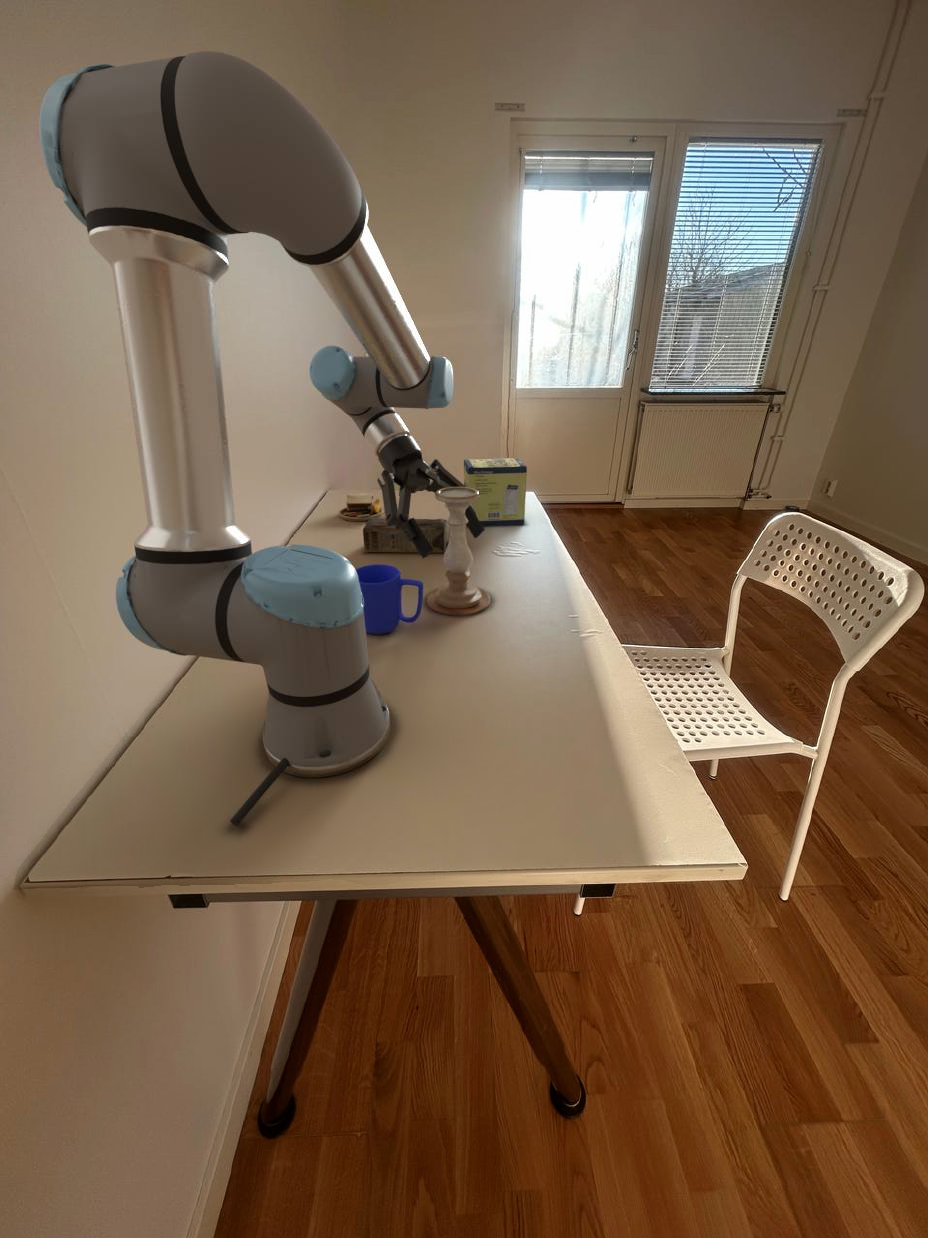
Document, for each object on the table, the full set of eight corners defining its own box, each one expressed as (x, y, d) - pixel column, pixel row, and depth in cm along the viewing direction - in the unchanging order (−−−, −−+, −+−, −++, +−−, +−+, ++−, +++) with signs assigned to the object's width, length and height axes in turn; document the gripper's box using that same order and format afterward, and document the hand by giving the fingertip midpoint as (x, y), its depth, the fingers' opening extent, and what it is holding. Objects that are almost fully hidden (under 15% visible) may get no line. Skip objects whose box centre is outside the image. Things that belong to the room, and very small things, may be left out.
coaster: (468, 621, 90) (468, 619, 90) (413, 605, 96) (413, 603, 96) (501, 596, 99) (501, 594, 99) (450, 582, 105) (450, 581, 104)
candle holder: (434, 590, 101) (430, 486, 91) (478, 588, 101) (479, 484, 92) (436, 610, 93) (432, 499, 83) (484, 608, 94) (486, 497, 84)
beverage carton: (446, 554, 119) (445, 526, 116) (363, 554, 119) (360, 526, 116) (447, 542, 126) (446, 515, 123) (369, 542, 126) (366, 516, 123)
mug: (418, 643, 84) (415, 587, 79) (348, 636, 86) (341, 581, 81) (431, 620, 91) (429, 567, 86) (366, 613, 93) (360, 562, 88)
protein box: (463, 515, 145) (463, 458, 138) (517, 513, 146) (520, 457, 139) (467, 527, 136) (467, 467, 128) (525, 525, 137) (528, 465, 130)
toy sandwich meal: (333, 522, 140) (331, 505, 138) (345, 508, 152) (343, 492, 150) (379, 522, 140) (377, 505, 138) (387, 508, 152) (386, 492, 149)
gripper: (433, 450, 105) (488, 536, 103) (330, 471, 89) (393, 573, 87) (451, 425, 99) (510, 516, 98) (345, 442, 83) (413, 552, 81)
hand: (455, 543), depth 92 cm, fingers open, 13 cm apart
